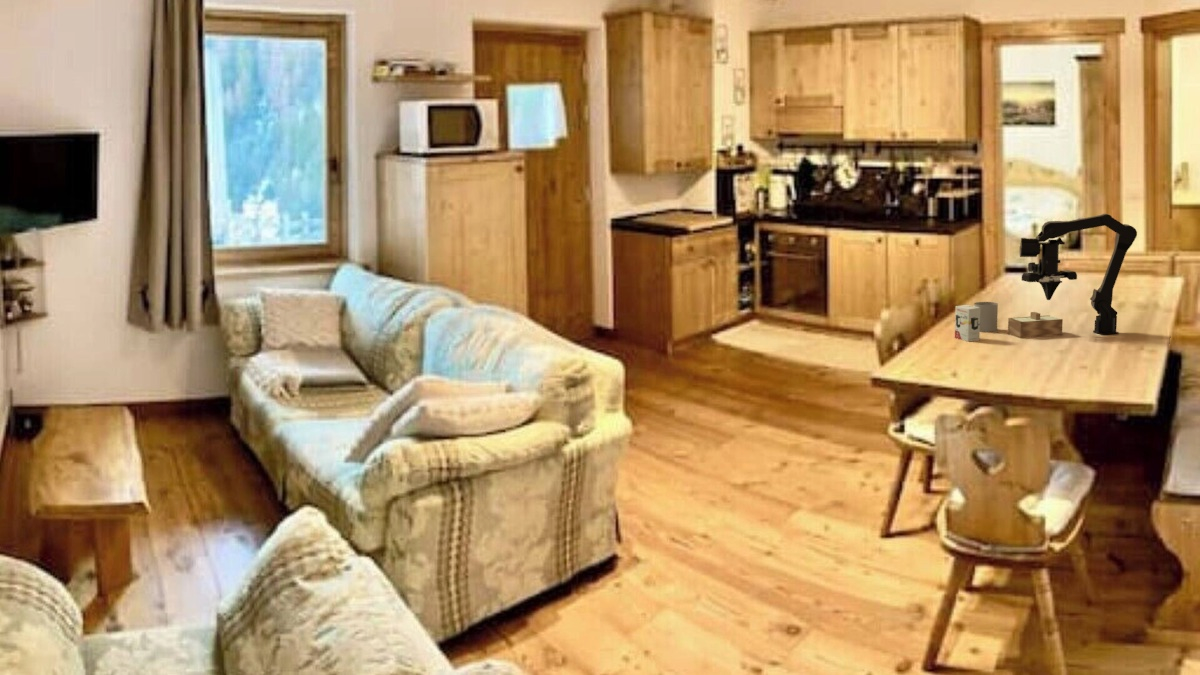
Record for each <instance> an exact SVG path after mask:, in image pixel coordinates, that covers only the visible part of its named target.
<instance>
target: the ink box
mask: <svg viewBox="0 0 1200 675" xmlns="http://www.w3.org/2000/svg"><path fill="white" fill-rule="evenodd" d="M954 314H955V320H954V322H955V323H954V338H955V339H957V338H958V340H961V341H964V340H965V342H975V341H980V335H981V334H980V333H981V332H980V308H979V307H975V306H974V305H969V304H962V305H955V313H954Z"/></svg>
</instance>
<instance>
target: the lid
mask: <svg viewBox="0 0 1200 675" xmlns="http://www.w3.org/2000/svg"><path fill="white" fill-rule="evenodd" d="M1040 316H1042V317H1040ZM1026 317H1027V318H1017V317H1011V318H1012V319H1015V320H1019V321H1022V322H1025V321H1040V320H1056V319H1060V318H1058V317H1055V316H1051V315H1050V316H1048V315H1041V313H1040V312H1036V311H1030V315H1029V316H1026Z"/></svg>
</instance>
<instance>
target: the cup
mask: <svg viewBox="0 0 1200 675" xmlns="http://www.w3.org/2000/svg"><path fill="white" fill-rule="evenodd" d="M973 306H975V307H979V308H980V333H994V332H997V331H998V311H999V310H998V306H999V304H998V303H997V302H993V301H978V302H974V304H973Z"/></svg>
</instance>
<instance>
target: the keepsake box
mask: <svg viewBox="0 0 1200 675" xmlns="http://www.w3.org/2000/svg"><path fill="white" fill-rule="evenodd" d="M1042 316H1043V315H1040V317H1042ZM1047 316H1051V315H1049V314H1048V315H1047ZM1027 317H1028V316H1022V317H1021V316H1020V317H1019V316H1018V317H1016V318H1027ZM1012 318H1013V317H1008V321H1007V322H1008V323H1007V334H1008V335H1010V336H1014V337H1015V338H1018V339H1026V338H1028V339H1029V338H1038V337H1039V338H1042V337H1055V336H1056V337H1057V336H1063V318H1059V319H1056V320H1040V321H1025V322H1022V321H1019V320H1015V319H1012Z"/></svg>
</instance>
